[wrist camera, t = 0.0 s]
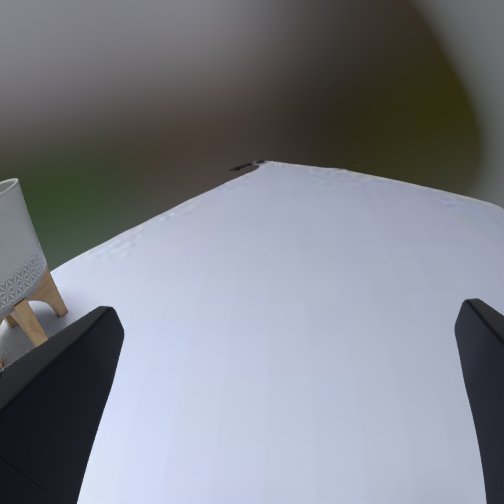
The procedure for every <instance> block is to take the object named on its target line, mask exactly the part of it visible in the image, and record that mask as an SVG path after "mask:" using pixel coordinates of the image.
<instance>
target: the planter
mask: <svg viewBox="0 0 504 504" xmlns="http://www.w3.org/2000/svg"><path fill="white" fill-rule="evenodd" d="M35 300H36V301H42V302H45V303H48V304H49V305H50V306H51V307H52V308H53V310H54V311H55V313H56V314H57V315H59V316H60V317H62V316H63V315H64V314H65V313H67V312H68V310H67V308H66V306H65V304H64V302H63V300H62V298H61V296H60V294H59V292H58V290H57V287H56V285H55V283H54V281H53V279H52V276H51V274H50V272H49V269H48V267H47V263H46V259H45V257H44V254H43V252H42V249H41V247H40V244H39V241H38V239H37V236H36V233H35V231H34V228H33V225H32V223H31V220H30V216H29V214H28V211H27V208H26V205H25V201H24V198H23V195H22V192H21V188H20V185H19V181H18V179H17V178H14V179H9V180H5V181H2V182H0V325H1V323H2V321H3V320H4V319H5V321H6V323H7V324H8V326H9V327H10V328H13V327H14V326H15V325H16V324H17V323H18V324H19V325H20V327H21V328H22V329H23V331H24V332H25V333H26V335H27V336H28V337H29V339H30V340H31V341H32V343H33V344H34V346H35V347H38V346H39V345H41V344H42V343H44V342H45V341H47V340H48V338H47V336H46V334H45V333H44V331H43V329H42V327H41V326H40V324H39V322H38V320H37V318H36V317H35V315H34V313H33V311H32V309H31V307H30V305H29V304H28V301H35ZM2 368H3V365H2V363H1V362H0V370H1V369H2Z"/></svg>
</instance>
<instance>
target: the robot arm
mask: <svg viewBox="0 0 504 504" xmlns="http://www.w3.org/2000/svg"><path fill="white" fill-rule="evenodd" d="M455 336H456V341H457V346H458V351H459V356H460V361H461V367H462V372H463V378H464V383H465V387H466V391H467V395H468V399H469V403H470V407H471V411H472V415H473V420H474V425H475V429H476V434H477V439H478V444H479V450H480V456H481V462H482V469H483V476H484V483H485V492H486V502H487V504H504V316H503V315H502V314H500V313H499V312H498V311H496V310H495V309H493V308H492V307H490V306H489V305H487V304H486V303H484V302H483V301H482V300H480V299H477V298H475V299H466V300H465V301H464V302H463V303H462V306H461V309H460V312H459V315H458V317H457V320H456V323H455ZM123 340H124V329H123V326H122V324H121V322H120V320H119V317H118V315H117V313H116V311H115V309H114V308H113V307H109V306H99V307H97V308H96V309H94V310H93V311H91V312H89V313H88V314H86V315H85V316H83V317H82V318H80V319H79V320H77V321H76V322H74V323H73V324H71V325H69V326H68V327H66V328H65V329H63V330H62V331H60V332H59V333H57V334H56V335H54V336H53V337H51V338H50V339H48V340H47V341H45V342H44V343H42V344H41V345H39V346H38V347H36V348H35V349H33V350H32V351H30V352H29V353H27V354H26V355H24V356H23V357H21V358H20V359H19V360H17V361H16V362H14V363H13V364H11V365H10V366H8V367H7V368H5V369H4V370H3V372H2V371H1V372H0V504H77V501H78V497H79V493H80V489H81V485H82V482H83V478H84V474H85V471H86V467H87V463H88V460H89V457H90V453H91V450H92V446H93V443H94V440H95V436H96V433H97V430H98V427H99V424H100V420H101V417H102V414H103V411H104V408H105V405H106V402H107V399H108V396H109V393H110V390H111V387H112V384H113V380H114V376H115V372H116V368H117V364H118V360H119V356H120V352H121V348H122V344H123Z"/></svg>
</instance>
